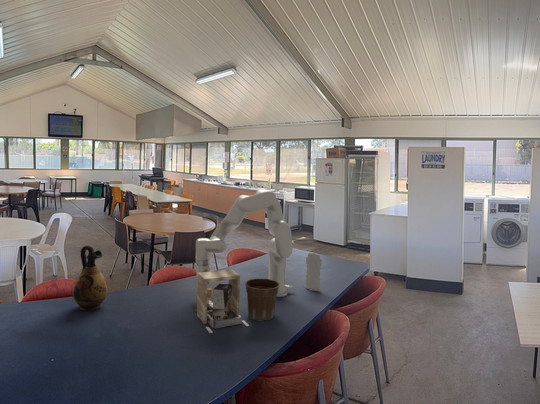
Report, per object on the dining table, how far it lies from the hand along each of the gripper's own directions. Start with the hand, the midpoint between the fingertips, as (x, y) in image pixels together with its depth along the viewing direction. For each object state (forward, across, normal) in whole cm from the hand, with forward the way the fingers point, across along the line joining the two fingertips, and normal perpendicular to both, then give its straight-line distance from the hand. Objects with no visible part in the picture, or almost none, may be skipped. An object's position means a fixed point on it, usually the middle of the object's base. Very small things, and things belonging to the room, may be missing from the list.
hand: (202, 296), depth 199 cm
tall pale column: (+2, -8, -64) cm, 64 cm away
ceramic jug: (+2, +13, +53) cm, 55 cm away
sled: (+2, -19, 0) cm, 19 cm away
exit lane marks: (+2, -36, 0) cm, 36 cm away
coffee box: (+2, -29, 0) cm, 29 cm away
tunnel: (+2, -24, 0) cm, 24 cm away
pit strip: (+2, -13, 0) cm, 13 cm away
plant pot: (+2, -31, -19) cm, 37 cm away
